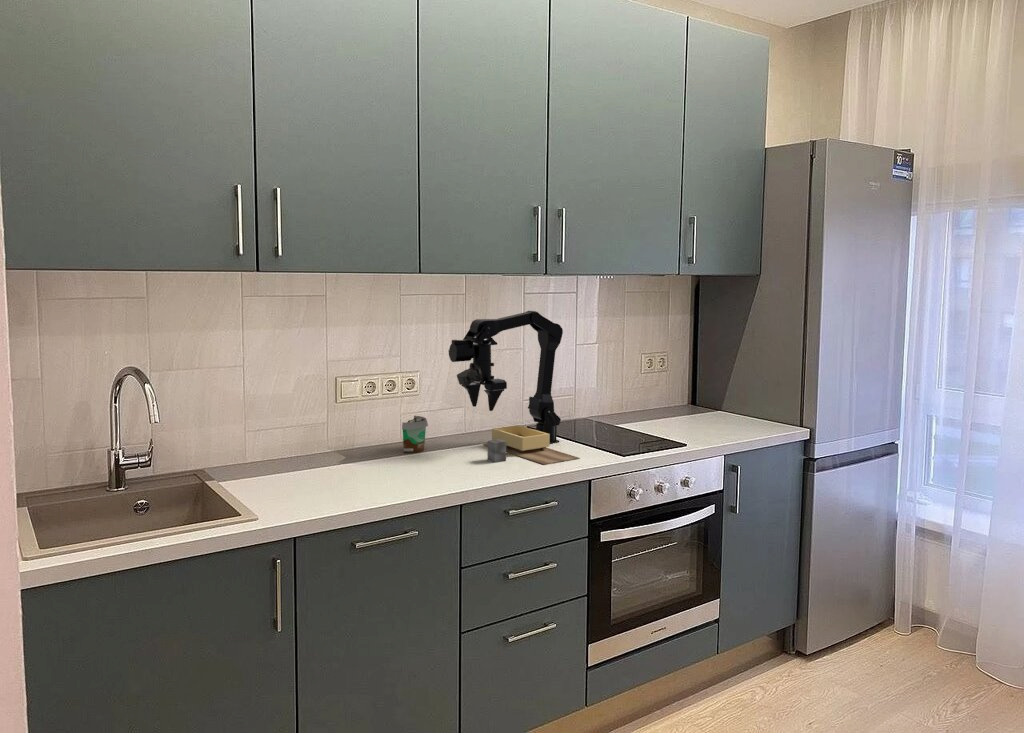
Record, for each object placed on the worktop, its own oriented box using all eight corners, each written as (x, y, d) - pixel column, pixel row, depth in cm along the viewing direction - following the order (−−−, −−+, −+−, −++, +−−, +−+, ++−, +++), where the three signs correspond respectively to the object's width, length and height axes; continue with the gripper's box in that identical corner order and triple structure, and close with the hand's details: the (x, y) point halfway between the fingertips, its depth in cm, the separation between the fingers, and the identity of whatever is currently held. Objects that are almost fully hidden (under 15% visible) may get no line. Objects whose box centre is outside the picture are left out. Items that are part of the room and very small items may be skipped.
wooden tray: (518, 440, 278) (518, 425, 277) (549, 449, 265) (549, 434, 264) (491, 444, 272) (492, 428, 271) (522, 454, 258) (522, 437, 258)
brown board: (517, 439, 281) (517, 438, 281) (579, 458, 256) (579, 457, 256) (482, 444, 273) (482, 443, 273) (543, 465, 247) (543, 464, 247)
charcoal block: (498, 458, 255) (498, 439, 254) (506, 461, 252) (506, 441, 251) (487, 460, 252) (487, 440, 252) (495, 462, 249) (495, 443, 248)
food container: (421, 455, 257) (421, 423, 255) (401, 454, 258) (401, 422, 257) (432, 447, 269) (432, 416, 267) (414, 445, 270) (414, 415, 269)
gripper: (444, 358, 265) (445, 407, 267) (477, 365, 251) (478, 416, 253) (473, 356, 272) (473, 403, 274) (507, 362, 257) (508, 411, 259)
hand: (482, 408), depth 265 cm, fingers open, 9 cm apart
